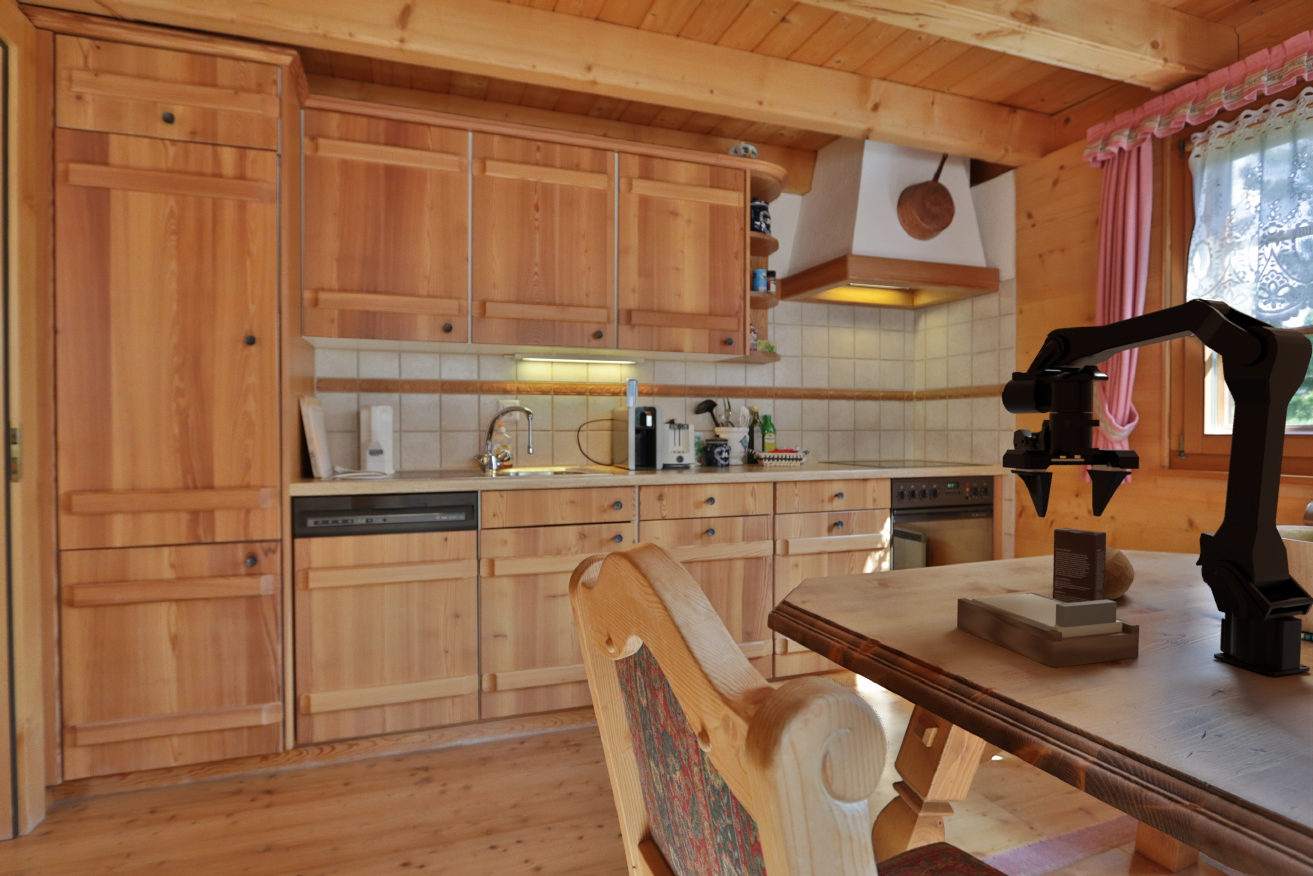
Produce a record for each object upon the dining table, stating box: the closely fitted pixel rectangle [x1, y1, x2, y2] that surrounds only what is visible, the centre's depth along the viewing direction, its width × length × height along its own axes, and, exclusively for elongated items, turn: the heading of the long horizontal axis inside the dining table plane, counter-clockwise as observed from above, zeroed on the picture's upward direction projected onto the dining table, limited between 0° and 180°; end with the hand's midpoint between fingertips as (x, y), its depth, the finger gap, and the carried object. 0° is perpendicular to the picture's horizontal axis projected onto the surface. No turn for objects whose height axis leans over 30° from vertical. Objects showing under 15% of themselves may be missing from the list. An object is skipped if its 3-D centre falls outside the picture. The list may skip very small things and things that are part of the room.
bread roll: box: [1105, 545, 1135, 600], centre depth 117 cm, size 10×15×8 cm, turn 153°
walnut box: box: [956, 592, 1140, 668], centre depth 91 cm, size 16×13×4 cm
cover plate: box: [971, 593, 1122, 638], centre depth 91 cm, size 14×10×4 cm
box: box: [1052, 527, 1107, 603], centre depth 107 cm, size 6×4×12 cm
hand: (1069, 516), depth 106 cm, fingers open, 9 cm apart
